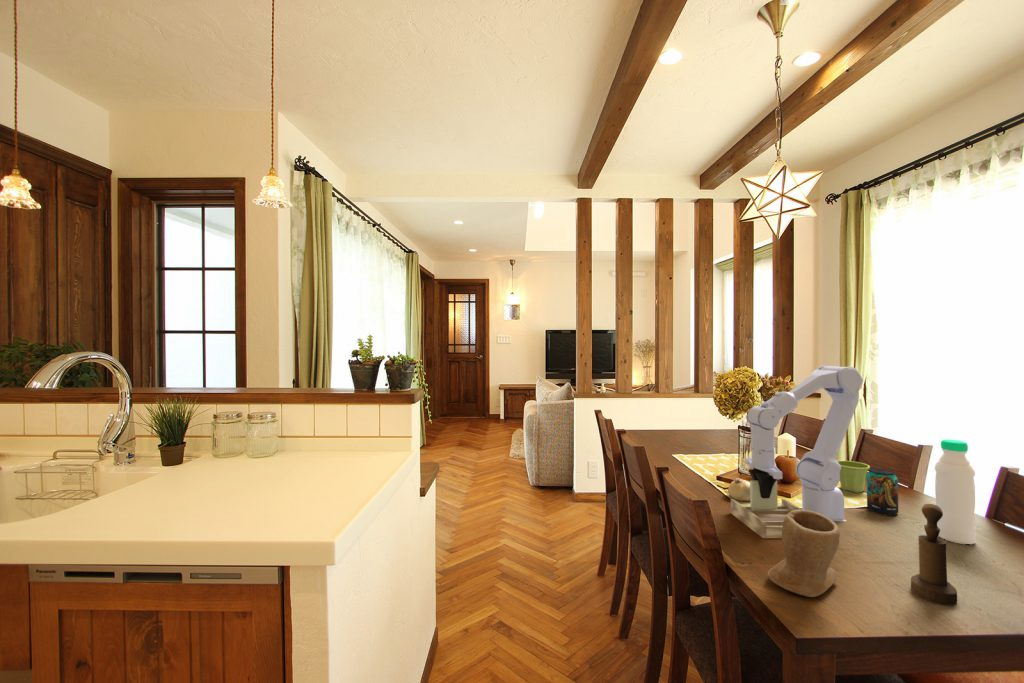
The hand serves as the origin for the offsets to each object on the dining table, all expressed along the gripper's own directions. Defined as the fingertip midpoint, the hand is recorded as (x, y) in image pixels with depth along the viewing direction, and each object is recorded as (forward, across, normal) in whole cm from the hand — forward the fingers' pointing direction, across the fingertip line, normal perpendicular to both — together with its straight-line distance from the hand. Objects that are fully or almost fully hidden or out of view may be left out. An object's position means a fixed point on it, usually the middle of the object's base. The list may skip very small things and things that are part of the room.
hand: (763, 496), depth 122 cm
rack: (+6, +5, 0) cm, 8 cm away
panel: (+3, 0, 0) cm, 3 cm away
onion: (+7, -15, +2) cm, 17 cm away
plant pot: (+7, -24, +44) cm, 50 cm away
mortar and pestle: (+7, +37, +12) cm, 39 cm away
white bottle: (+7, +13, +41) cm, 43 cm away
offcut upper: (+5, +5, 0) cm, 7 cm away
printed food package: (+7, -5, +38) cm, 39 cm away
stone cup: (+7, +33, -10) cm, 35 cm away
